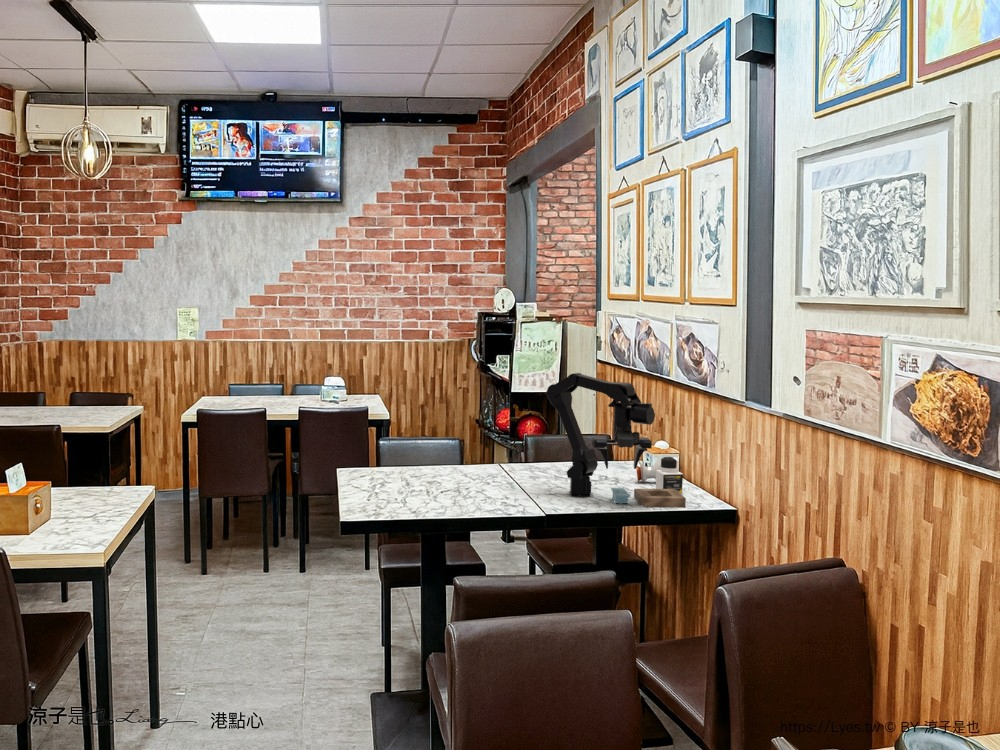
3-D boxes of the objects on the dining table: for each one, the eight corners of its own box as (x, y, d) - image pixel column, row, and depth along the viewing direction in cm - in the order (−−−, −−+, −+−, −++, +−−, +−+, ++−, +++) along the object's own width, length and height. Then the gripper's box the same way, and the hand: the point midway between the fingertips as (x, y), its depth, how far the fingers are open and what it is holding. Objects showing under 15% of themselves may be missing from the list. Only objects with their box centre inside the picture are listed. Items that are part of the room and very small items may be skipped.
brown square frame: (642, 506, 294) (642, 498, 294) (633, 497, 308) (634, 488, 308) (685, 507, 295) (685, 498, 295) (675, 497, 309) (675, 489, 309)
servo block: (616, 506, 295) (617, 495, 295) (611, 498, 306) (611, 487, 306) (629, 506, 296) (629, 495, 295) (622, 498, 307) (623, 488, 306)
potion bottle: (680, 488, 330) (638, 491, 332) (677, 468, 337) (636, 472, 339) (680, 471, 324) (637, 474, 326) (676, 451, 332) (635, 454, 333)
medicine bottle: (662, 494, 314) (664, 459, 313) (655, 489, 321) (656, 456, 320) (682, 493, 315) (683, 459, 314) (674, 489, 322) (675, 455, 321)
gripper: (598, 424, 290) (596, 473, 292) (656, 425, 291) (654, 473, 293) (592, 419, 301) (591, 466, 303) (648, 420, 302) (647, 467, 304)
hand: (620, 468), depth 300 cm, fingers open, 9 cm apart
